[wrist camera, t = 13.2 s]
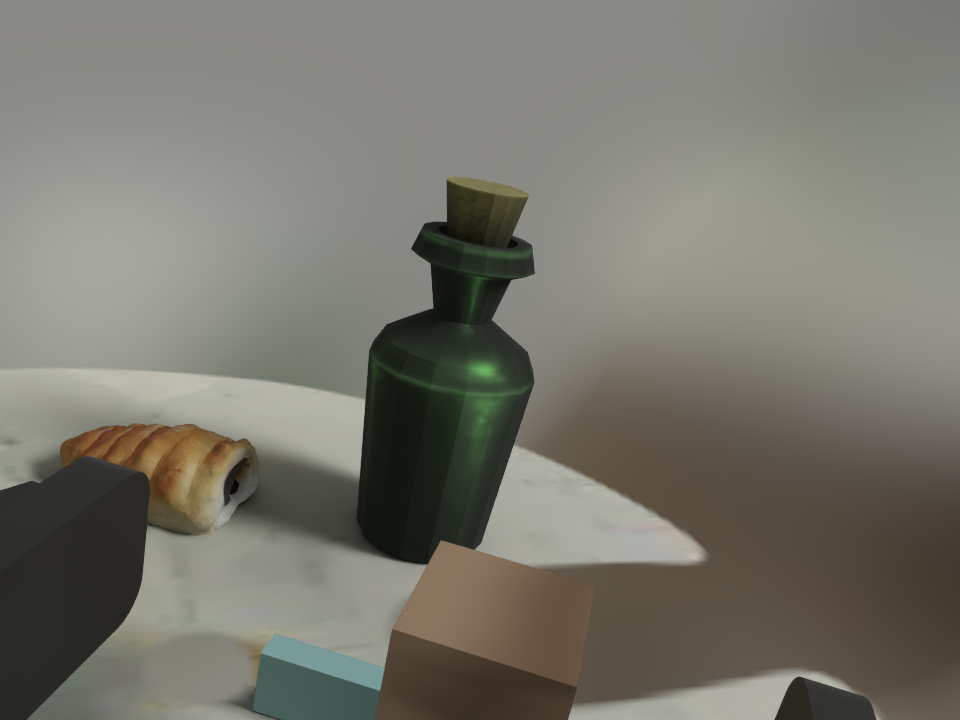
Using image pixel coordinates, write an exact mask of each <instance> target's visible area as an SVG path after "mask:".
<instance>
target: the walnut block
mask: <svg viewBox="0 0 960 720" xmlns="http://www.w3.org/2000/svg"><path fill="white" fill-rule="evenodd" d="M594 590H595V586H594V585H590V584H587V583H584V582H580V581H577V580H573V579H570V578H566V577H563V576H560V575H556V574H553V573H550V572H546V571H543V570H540V569H536V568H533V567H530V566H526V565H523V564H519V563H516V562H513V561H509V560H506V559H503V558H499V557H496V556H492V555H489V554H486V553H482V552H479V551H476V550H472V549H469V548H465V547H462V546H459V545H455V544H452V543H449V542H445V541H442V540H441V541H440V543H439V545H438V547H437V549H436V550H435V552H434V554H433V556H432V558H431V560H430V561H429V563H428V565H427V567H426V569H425V570H424V572H423V574H422V576H421V578H420V580H419V581H418V583H417V585H416V587H415V589H414V590H413V592H412V594H411V596H410V598H409V600H408V601H407V603H406V605H405V607H404V609H403V610H402V612H401V614H400V616H399V618H398V620H397V621H396V623H395V625H394V627H393V629H392V633H391V638H390V643H389V648H388V653H387V658H386V664H385V669H384V674H383V679H382V684H381V689H380V694H379V699H378V704H377V709H376V714H375V719H374V720H568V718H569V714H570V711H571V707H572V704H573V700H574V697H575V693H576V689H577V685H578V680H579V674H580V669H581V663H582V657H583V651H584V645H585V640H586V634H587V629H588V624H589V618H590V612H591V607H592V601H593V596H594Z"/></svg>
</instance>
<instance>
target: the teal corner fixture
mask: <svg viewBox="0 0 960 720" xmlns="http://www.w3.org/2000/svg"><path fill="white" fill-rule="evenodd" d="M384 669H385V668H384V667H381V666H378V665H374V664H371V663H368V662H365V661H362V660H358V659H355V658H352V657H349V656H346V655H342V654H339V653H336V652H333V651H330V650H326V649H323V648H320V647H317V646H314V645H310V644H307V643H304V642H301V641H298V640H294V639H291V638H288V637H285V636H282V635H278V634H274V636H273V637H272V639H271V640H270V641H269V643H268V644H267V645H266V647H265V648H264V649H263V651H262V652H261V655H260V662H259V669H258V676H257V683H256V690H255V697H254V704H253V711H256V712H259V713H262V714H265V715H268V716H271V717H274V718H277V719H280V720H374V719H375V714H376V709H377V704H378V699H379V694H380V689H381V684H382V679H383V674H384Z"/></svg>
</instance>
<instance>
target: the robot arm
mask: <svg viewBox="0 0 960 720" xmlns="http://www.w3.org/2000/svg"><path fill="white" fill-rule="evenodd" d="M149 497H150V483H149V479H148V477H147V475H146V474H145V473H143V472H140V471H137V470H134V469H131V468H127V467H124V466H121V465H118V464H114V463H111V462H108V461H105V460H101V459H98V458H95V457H92V456H83V457H80V458H79V459H77V460H75V461H74V462H72V463H70V464H69V465H67V466H66V467H64V468H63V469H61V470H60V471H58V472H57V473H55V474H54V475H52V476H50V477H49V478H47V479H46V480H44V481H43V482H41V483H37V482H34V481H29V482H26V483H23V484H20V485H17V486H13V487H10V488H7V489H4V490H0V720H26V719H27V718H28V717H29V716H30V715H31V714H32V713H33V712H34V711H35V710H36V709H37V708H38V707H39V706H40V705H41V704H42V703H43V702H44V701H45V700H46V699H47V698H48V697H49V696H50V695H51V694H52V693H53V692H54V691H55V690H56V689H57V688H58V687H59V686H60V685H61V684H62V683H63V682H64V681H65V680H66V679H67V678H68V677H69V676H70V675H71V674H72V673H73V672H74V671H75V670H76V669H77V668H78V667H79V666H80V665H81V664H82V663H83V662H84V661H85V660H86V659H87V658H88V657H89V656H90V655H91V654H92V653H93V652H94V651H95V650H96V649H97V648H98V647H99V646H100V645H101V644H102V643H103V642H104V641H105V640H106V639H107V638H108V637H109V636H110V635H111V634H112V633H113V632H114V631H115V630H116V629H117V628H118V627H119V626H120V625H121V624H122V623H123V621H124V620H125V618H126V617H127V615H128V614H129V612H130V610H131V608H132V607H133V604H134V602H135V600H136V598H137V595H138V592H139V589H140V585H141V581H142V575H143V563H144V552H145V541H146V530H147V519H148V508H149ZM775 720H876V717H875V714H874V711H873V708H872V705H871V703H870V701H869V700H868V699H867V698H866V697H864V696H861V695H858V694H854V693H851V692H848V691H845V690H841V689H838V688H835V687H832V686H828V685H825V684H822V683H819V682H815V681H812V680H809V679H806V678H802V677H796V678H795V679H794V680H793V681H792V682H791V684H790V686H789V687H788V689H787V691H786V694H785V696H784V698H783V701H782V703H781V706H780V708H779V710H778V713H777V715H776V717H775Z"/></svg>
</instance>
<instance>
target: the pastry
mask: <svg viewBox="0 0 960 720" xmlns="http://www.w3.org/2000/svg"><path fill="white" fill-rule="evenodd" d="M60 454H61V460H62V466H63V468H64V467H66V466H67V465H69V464H70V463H72V462H74V461H75V460H77V459H79V458H80V457H83V456H92V457H95V458H98V459H101V460H105V461H108V462H111V463H114V464H118V465H121V466H124V467H127V468H131V469H134V470H137V471H140V472H143V473H145V474H146V475H147V477H148V479H149V483H150V497H149V508H148V519H147V522H148V523H150V524H153V525H156V526H159V527H162V528H165V529H169V530H173V531H176V532H180V533H186V534H191V535H206V534H209V533H210V532H211V531H213V530H217V529H219V528H220V527H222V526H223V525H224V524H225V523H227V522H228V521H229V519H230V517H231V515H232V514H233V513H234V511H235V510H236V508H237V505H238V504H240V503H241V502H243V501H245V500H246V499H247V498H249V497H250V496H251V495H252V494H253V493H254V492H255V491H256V489H257V487H258V483H259V464H258V458H257V455H256V451H255V448H254V447H253V446H252V445H251V443H250V442H249V441H248V440H247V439H241V440H239V441H237V442H235V441H234V440H232V439H230V438H227V437H224V436H221V435H218V434H216V433H214V432H211V431H207V430H203V429H201V428H199V427H198V426H196V425H193V424H185V425H178V426H175V427H173V428H171V427H168V426H164V425H159V424H152V425H148V426H146V425H143V424H132V425H130V426H128V427H126V426H106V427H101V428H98V429H96V430H93V431H90V432H85V433H83V434H81V435H79V436H77V437H74V438H71V439H69V440H66V441H64V442H63V444H62V445H61V449H60Z"/></svg>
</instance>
